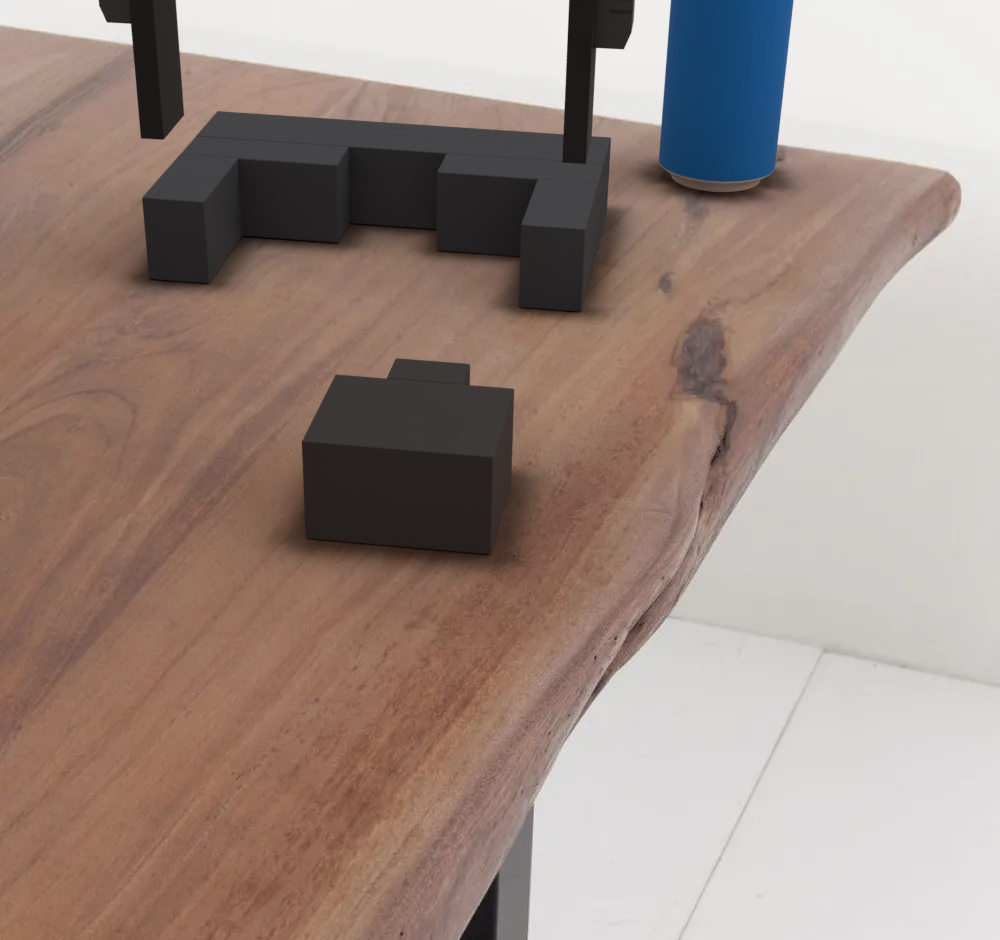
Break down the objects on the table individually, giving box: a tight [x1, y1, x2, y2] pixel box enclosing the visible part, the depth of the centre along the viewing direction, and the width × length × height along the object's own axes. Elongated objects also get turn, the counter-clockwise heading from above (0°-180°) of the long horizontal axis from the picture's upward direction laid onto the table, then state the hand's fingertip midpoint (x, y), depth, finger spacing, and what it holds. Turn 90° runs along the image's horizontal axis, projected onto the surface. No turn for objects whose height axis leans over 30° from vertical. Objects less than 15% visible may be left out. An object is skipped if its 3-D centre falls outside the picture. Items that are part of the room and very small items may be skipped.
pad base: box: [141, 110, 612, 312], centre depth 94 cm, size 21×14×4 cm, turn 82°
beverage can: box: [658, 0, 795, 193], centre depth 102 cm, size 6×6×12 cm
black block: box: [301, 357, 515, 555], centre depth 72 cm, size 7×8×4 cm
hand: (368, 139), depth 61 cm, fingers open, 13 cm apart
